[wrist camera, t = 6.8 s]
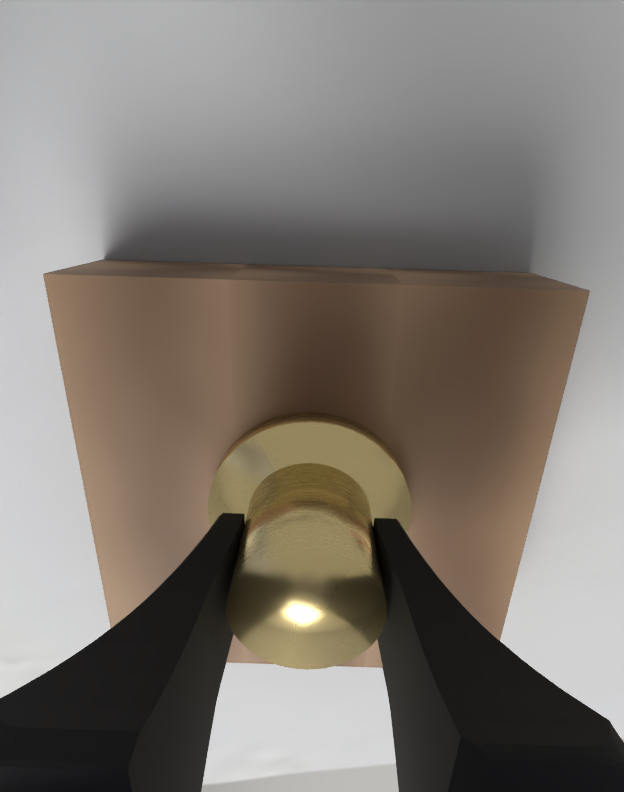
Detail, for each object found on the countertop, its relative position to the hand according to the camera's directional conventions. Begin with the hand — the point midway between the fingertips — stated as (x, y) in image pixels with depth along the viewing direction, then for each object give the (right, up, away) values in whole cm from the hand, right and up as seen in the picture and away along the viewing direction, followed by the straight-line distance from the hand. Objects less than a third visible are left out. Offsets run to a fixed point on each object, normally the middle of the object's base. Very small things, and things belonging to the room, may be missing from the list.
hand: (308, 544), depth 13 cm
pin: (0, +2, +4) cm, 5 cm away
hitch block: (0, +2, +5) cm, 5 cm away
